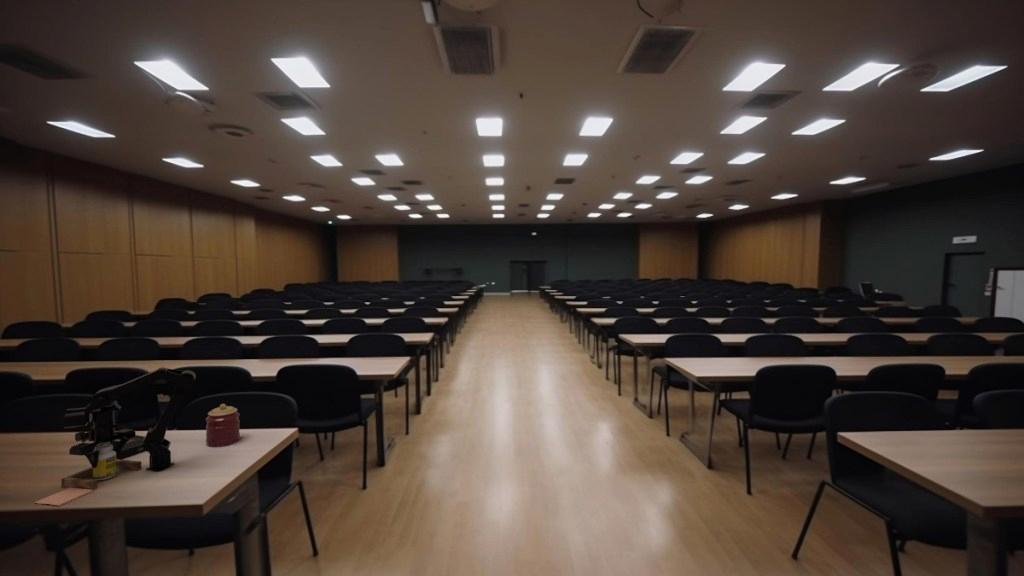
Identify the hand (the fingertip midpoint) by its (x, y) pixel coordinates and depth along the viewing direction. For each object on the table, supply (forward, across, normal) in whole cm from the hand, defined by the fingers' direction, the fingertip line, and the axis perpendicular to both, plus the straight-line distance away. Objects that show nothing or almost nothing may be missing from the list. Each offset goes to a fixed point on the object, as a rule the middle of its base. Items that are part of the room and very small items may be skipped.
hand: (104, 463), depth 160 cm
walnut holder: (+5, 0, 0) cm, 5 cm away
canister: (+6, -38, +15) cm, 41 cm away
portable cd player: (+6, -21, -18) cm, 28 cm away
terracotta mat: (+5, +14, +2) cm, 15 cm away
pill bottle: (+5, 0, 0) cm, 5 cm away
